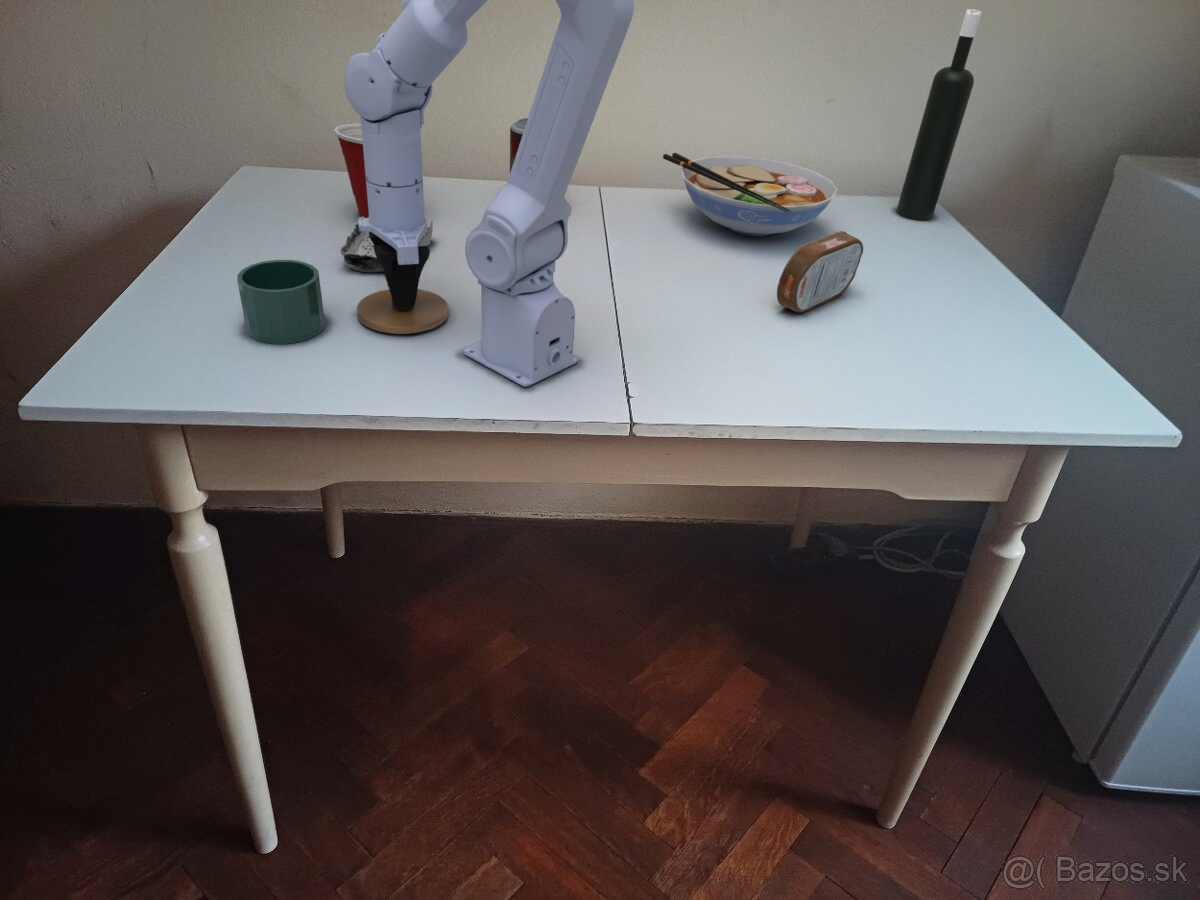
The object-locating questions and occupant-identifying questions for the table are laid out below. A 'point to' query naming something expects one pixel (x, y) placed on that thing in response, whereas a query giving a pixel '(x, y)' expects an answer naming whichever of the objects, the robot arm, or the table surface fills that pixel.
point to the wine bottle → (939, 129)
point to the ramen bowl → (755, 192)
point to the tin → (819, 271)
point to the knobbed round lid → (402, 313)
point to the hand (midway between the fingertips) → (402, 300)
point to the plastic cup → (354, 163)
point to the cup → (281, 301)
